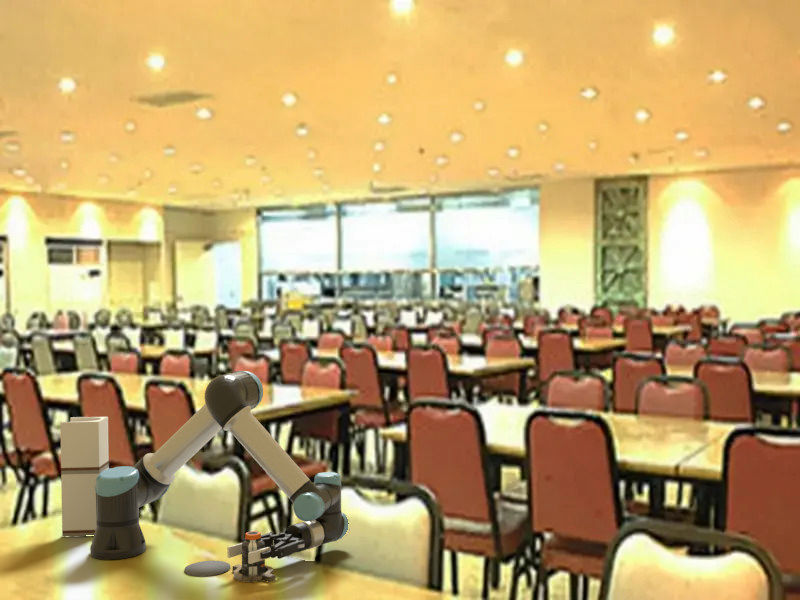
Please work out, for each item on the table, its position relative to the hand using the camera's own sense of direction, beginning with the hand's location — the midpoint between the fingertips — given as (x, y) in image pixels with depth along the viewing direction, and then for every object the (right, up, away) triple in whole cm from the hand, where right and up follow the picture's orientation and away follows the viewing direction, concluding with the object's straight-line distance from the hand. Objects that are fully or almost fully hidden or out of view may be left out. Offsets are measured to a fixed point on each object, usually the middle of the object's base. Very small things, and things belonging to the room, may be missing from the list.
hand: (238, 555), depth 232 cm
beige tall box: (-56, -7, +49) cm, 74 cm away
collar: (+3, -6, +4) cm, 8 cm away
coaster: (-10, -7, +10) cm, 15 cm away
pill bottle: (+3, -7, +4) cm, 8 cm away
